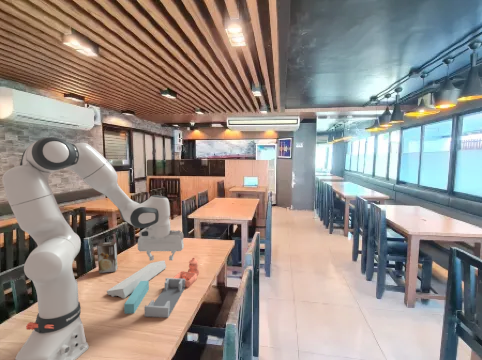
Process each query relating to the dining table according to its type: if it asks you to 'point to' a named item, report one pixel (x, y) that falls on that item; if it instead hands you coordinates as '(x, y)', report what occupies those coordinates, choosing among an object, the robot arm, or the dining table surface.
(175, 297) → the end cap cradle
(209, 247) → the dining table surface
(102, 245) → the coffee box
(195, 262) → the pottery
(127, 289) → the decorative molding
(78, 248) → the robot arm
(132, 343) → the dining table surface
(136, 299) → the slat
